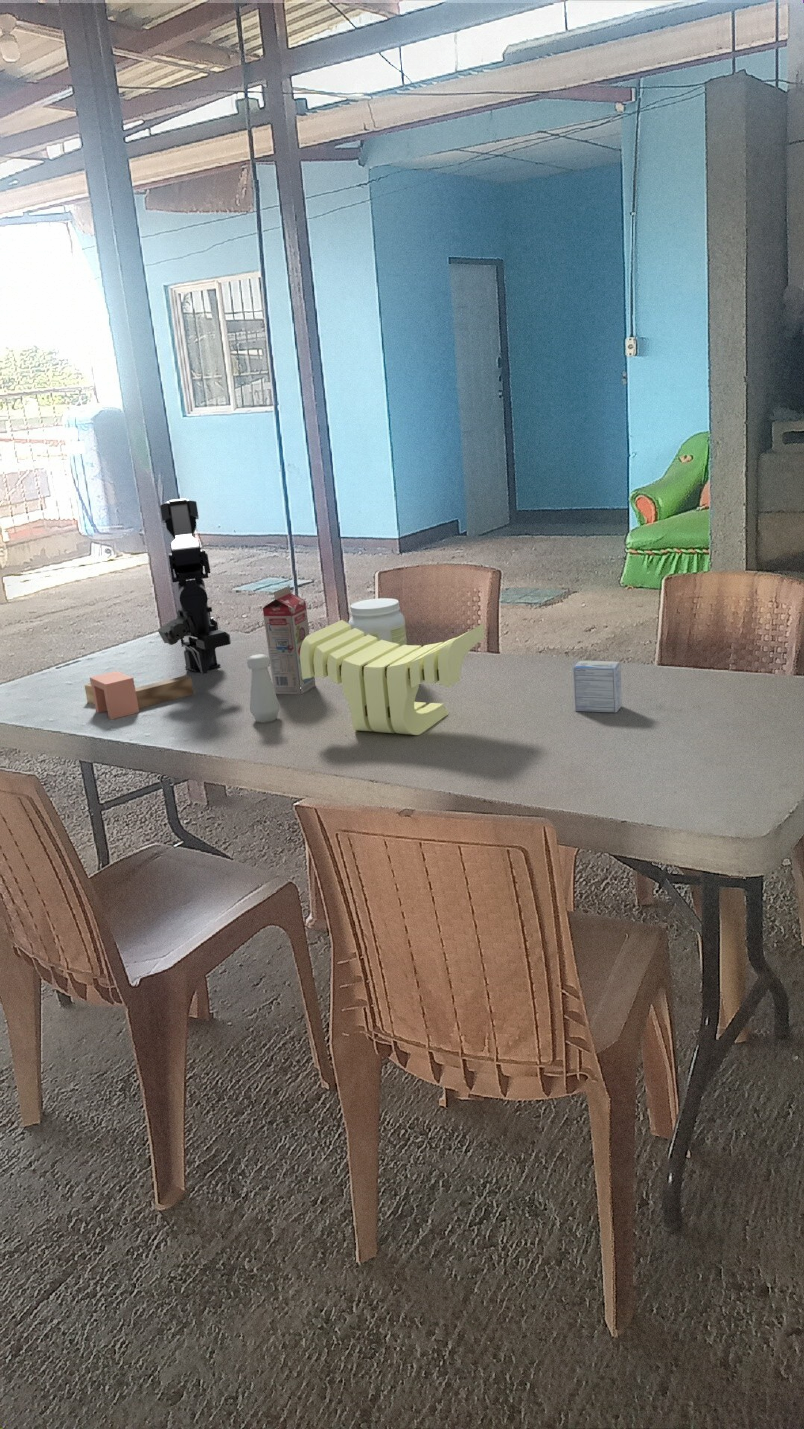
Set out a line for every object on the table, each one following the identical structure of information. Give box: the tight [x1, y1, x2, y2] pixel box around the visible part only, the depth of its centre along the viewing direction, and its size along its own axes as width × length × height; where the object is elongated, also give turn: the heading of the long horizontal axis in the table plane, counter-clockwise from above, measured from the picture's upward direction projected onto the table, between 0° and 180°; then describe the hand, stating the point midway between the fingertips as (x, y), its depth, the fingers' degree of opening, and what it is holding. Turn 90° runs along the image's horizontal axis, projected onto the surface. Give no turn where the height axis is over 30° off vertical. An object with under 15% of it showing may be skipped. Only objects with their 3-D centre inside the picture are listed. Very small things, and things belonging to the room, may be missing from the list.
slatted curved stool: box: [300, 619, 485, 736], centre depth 199 cm, size 30×16×18 cm, turn 63°
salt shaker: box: [246, 653, 281, 724], centre depth 210 cm, size 6×6×13 cm
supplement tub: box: [347, 597, 408, 647], centre depth 230 cm, size 12×12×17 cm
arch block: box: [89, 670, 140, 720], centre depth 226 cm, size 6×9×8 cm, turn 36°
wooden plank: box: [135, 675, 195, 709], centre depth 231 cm, size 18×3×4 cm, turn 126°
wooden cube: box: [84, 682, 94, 704], centre depth 237 cm, size 4×4×4 cm
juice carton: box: [262, 585, 316, 695], centre depth 228 cm, size 7×7×22 cm
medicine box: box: [572, 660, 623, 714], centre depth 198 cm, size 8×4×9 cm, turn 65°
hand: (204, 673), depth 238 cm, fingers closed
